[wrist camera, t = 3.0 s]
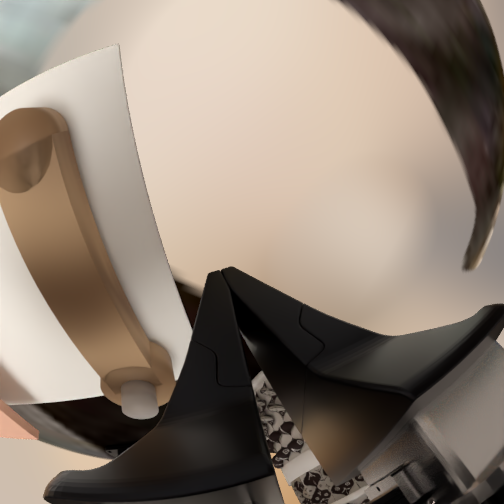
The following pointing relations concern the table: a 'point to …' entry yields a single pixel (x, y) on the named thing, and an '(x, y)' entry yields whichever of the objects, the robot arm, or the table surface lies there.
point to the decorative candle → (300, 455)
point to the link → (76, 261)
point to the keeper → (15, 424)
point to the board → (110, 229)
